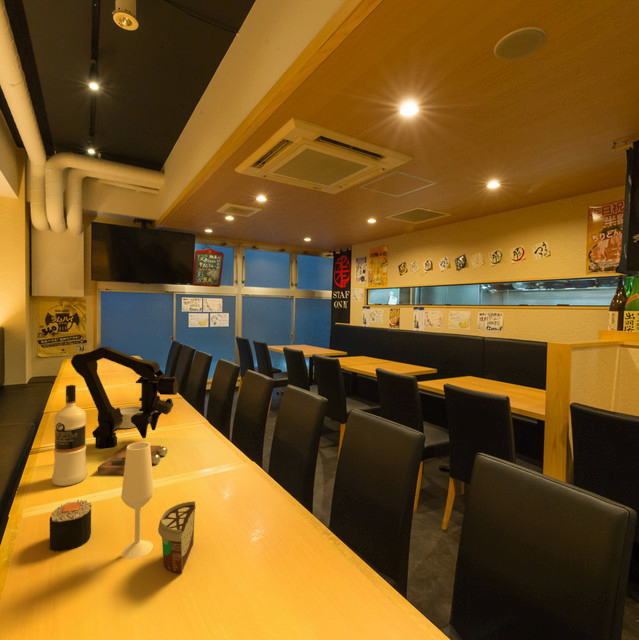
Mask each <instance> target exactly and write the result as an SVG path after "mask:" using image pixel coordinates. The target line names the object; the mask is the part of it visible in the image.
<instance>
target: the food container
mask: <svg viewBox="0 0 639 640" xmlns="http://www.w3.org/2000/svg"><path fill="white" fill-rule="evenodd" d="M195 516H196V501H186V502H182V503H178V504H176V505H174V506H172V507H170V508H168V509H167V510H166V511H165V512H163V514H162V515H161V518H160V520H159V525H158V526H157V527H158V528H157V533H158V535H160V537H161V544H162V557H163V558H162V559H163V567H164V569H165V570H166V571H168V572H170V573H173V574H175V575H176V574H177V575H180V574H181V575H182V574H183V572H184V570H185V567H186V565H187V563H188V560H189V557H190V554H191V552H192V550H193V547H194V540H195V539H194V538H195V537H194V535H195Z"/></svg>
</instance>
